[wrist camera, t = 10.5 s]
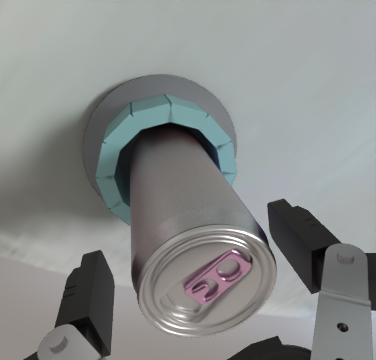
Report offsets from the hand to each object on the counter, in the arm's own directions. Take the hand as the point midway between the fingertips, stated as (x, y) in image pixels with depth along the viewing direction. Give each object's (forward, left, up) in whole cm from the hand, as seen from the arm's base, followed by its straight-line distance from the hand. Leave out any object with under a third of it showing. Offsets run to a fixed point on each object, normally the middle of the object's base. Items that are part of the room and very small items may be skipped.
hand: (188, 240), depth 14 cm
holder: (0, 0, -13) cm, 13 cm away
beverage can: (0, 0, -12) cm, 12 cm away
